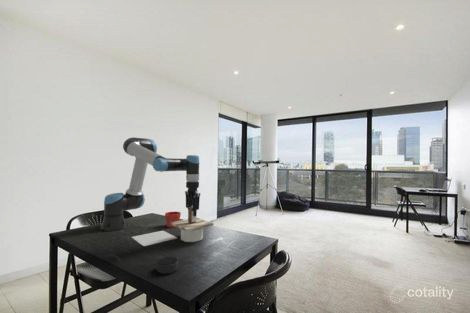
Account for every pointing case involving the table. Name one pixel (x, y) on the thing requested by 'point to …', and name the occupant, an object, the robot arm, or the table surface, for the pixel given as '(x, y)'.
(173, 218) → the flower pot
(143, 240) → the tray
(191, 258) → the table surface
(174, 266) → the smart speaker
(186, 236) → the bowl
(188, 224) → the lid
